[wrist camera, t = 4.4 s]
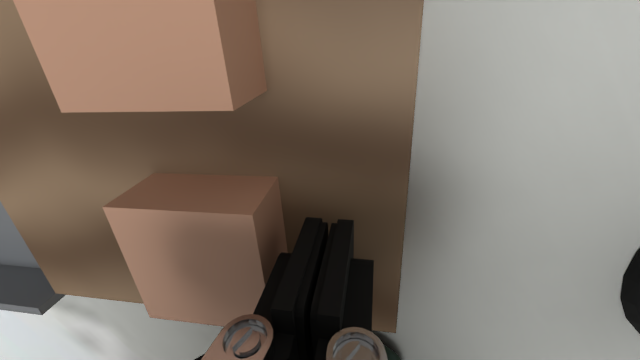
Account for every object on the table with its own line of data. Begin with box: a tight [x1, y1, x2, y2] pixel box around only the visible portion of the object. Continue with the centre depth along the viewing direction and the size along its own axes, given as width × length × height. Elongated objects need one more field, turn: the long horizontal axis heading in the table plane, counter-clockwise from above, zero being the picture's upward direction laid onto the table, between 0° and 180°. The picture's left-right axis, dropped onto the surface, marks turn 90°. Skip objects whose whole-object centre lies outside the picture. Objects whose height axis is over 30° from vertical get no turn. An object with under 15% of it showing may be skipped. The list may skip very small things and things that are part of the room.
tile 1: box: [13, 0, 267, 113], centre depth 8 cm, size 5×5×2 cm
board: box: [0, 0, 424, 333], centre depth 12 cm, size 18×18×2 cm
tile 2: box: [102, 173, 288, 327], centre depth 11 cm, size 5×5×2 cm
